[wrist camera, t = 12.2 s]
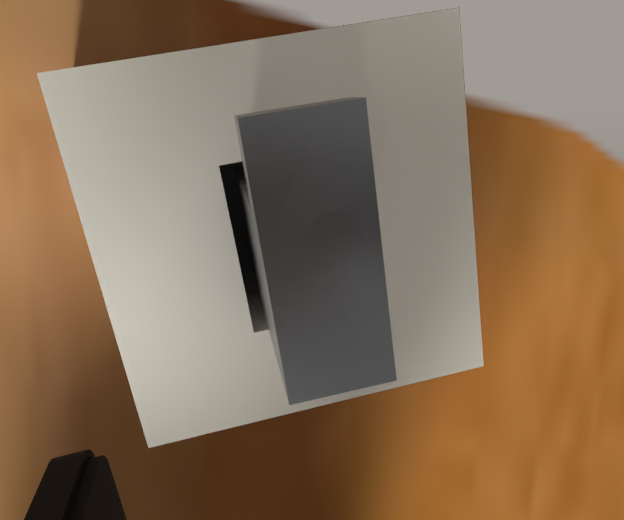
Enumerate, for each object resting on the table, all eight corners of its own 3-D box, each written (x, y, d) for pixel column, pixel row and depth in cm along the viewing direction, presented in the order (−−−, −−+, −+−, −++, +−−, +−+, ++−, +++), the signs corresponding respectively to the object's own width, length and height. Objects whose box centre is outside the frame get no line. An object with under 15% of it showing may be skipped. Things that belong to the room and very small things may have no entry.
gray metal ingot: (318, 263, 26) (396, 380, 15) (254, 276, 25) (289, 405, 15) (293, 95, 23) (366, 97, 13) (222, 106, 23) (237, 118, 12)
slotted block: (436, 320, 28) (483, 366, 23) (158, 384, 26) (148, 448, 22) (408, 24, 24) (459, 7, 19) (72, 77, 22) (36, 73, 17)
